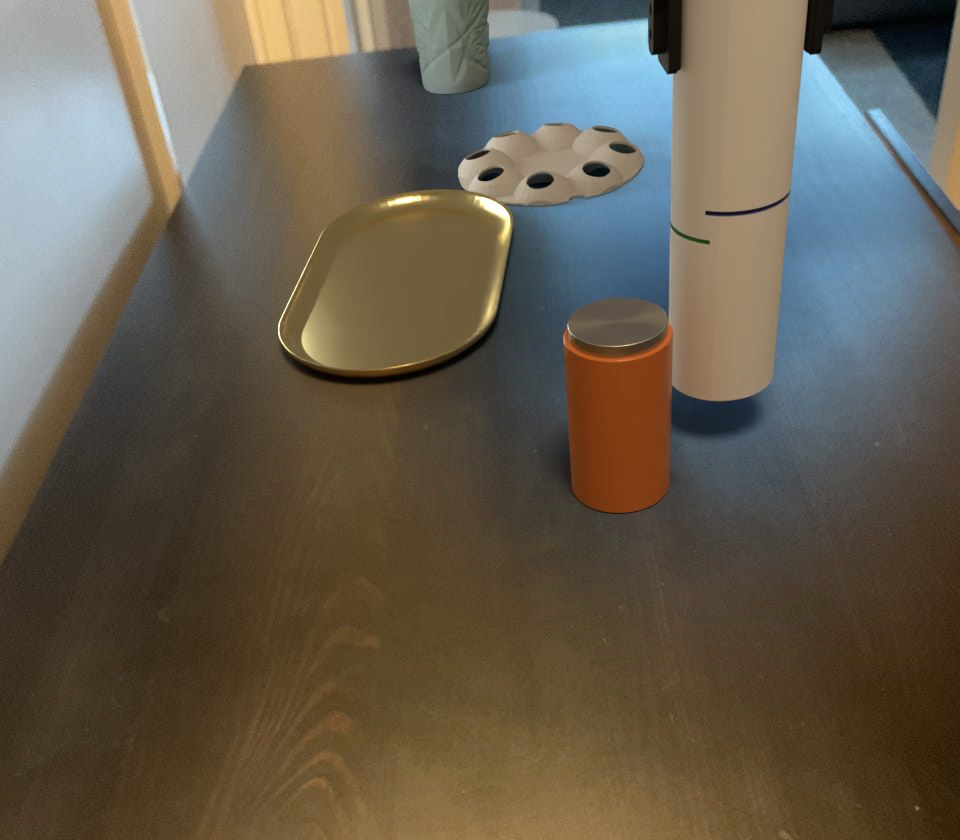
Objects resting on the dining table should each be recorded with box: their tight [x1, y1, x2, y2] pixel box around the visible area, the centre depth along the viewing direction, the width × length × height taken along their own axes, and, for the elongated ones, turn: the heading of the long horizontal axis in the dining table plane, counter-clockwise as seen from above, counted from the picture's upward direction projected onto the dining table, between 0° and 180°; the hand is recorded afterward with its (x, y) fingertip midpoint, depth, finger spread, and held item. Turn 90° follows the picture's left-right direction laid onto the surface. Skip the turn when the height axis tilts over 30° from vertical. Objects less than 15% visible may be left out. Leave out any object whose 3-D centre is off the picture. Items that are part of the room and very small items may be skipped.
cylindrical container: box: [668, 0, 808, 402], centre depth 66 cm, size 7×7×25 cm
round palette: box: [457, 122, 645, 207], centre depth 114 cm, size 20×20×2 cm
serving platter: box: [277, 188, 515, 379], centre depth 97 cm, size 19×35×2 cm, turn 174°
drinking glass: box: [407, 0, 490, 95], centre depth 133 cm, size 10×10×12 cm
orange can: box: [563, 297, 673, 514], centre depth 69 cm, size 7×7×12 cm
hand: (737, 54), depth 61 cm, fingers closed on cylindrical container, 7 cm apart
